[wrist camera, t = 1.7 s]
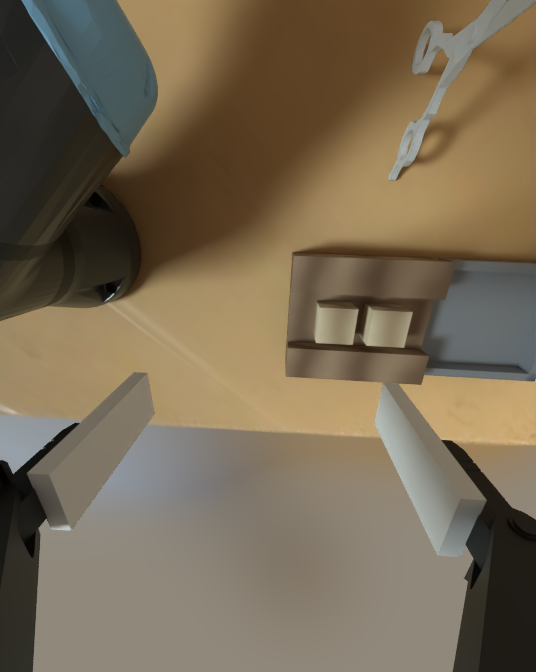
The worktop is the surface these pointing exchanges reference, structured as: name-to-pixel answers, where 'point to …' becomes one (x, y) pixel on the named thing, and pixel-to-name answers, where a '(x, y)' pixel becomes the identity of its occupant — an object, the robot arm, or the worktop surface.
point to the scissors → (452, 63)
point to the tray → (485, 322)
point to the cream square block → (335, 322)
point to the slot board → (359, 288)
